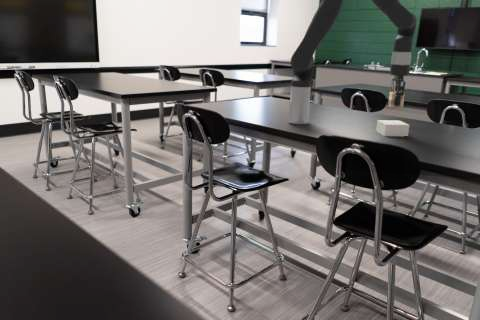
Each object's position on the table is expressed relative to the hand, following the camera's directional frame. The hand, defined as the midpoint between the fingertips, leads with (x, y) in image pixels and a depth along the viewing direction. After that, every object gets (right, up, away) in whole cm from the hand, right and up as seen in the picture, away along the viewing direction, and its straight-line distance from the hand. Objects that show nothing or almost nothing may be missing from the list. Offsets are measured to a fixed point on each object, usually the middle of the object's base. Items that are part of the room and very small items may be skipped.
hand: (395, 104), depth 169 cm
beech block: (0, -1, 0) cm, 1 cm away
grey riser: (0, -12, +4) cm, 13 cm away
